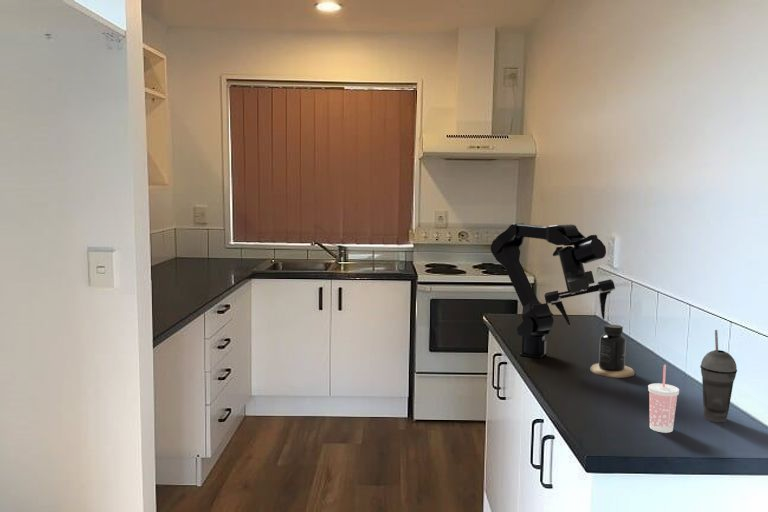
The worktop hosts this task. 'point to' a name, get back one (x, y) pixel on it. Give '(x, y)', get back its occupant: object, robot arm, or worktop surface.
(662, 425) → the beverage cup
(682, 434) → the worktop surface
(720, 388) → the beverage cup
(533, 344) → the robot arm
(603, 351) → the supplement bottle
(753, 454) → the worktop surface
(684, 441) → the worktop surface
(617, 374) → the coaster
